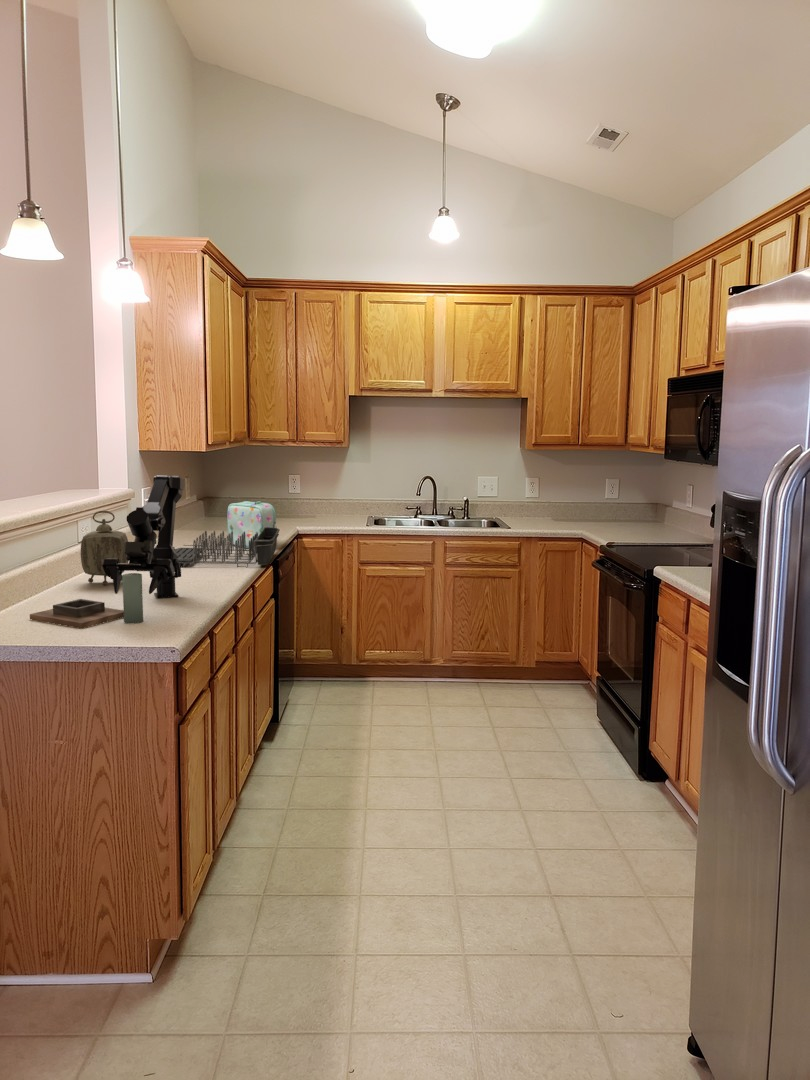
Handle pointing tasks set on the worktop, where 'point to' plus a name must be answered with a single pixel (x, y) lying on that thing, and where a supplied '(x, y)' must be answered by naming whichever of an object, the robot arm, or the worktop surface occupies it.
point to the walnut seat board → (78, 613)
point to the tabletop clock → (102, 548)
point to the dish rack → (261, 545)
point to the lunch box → (249, 519)
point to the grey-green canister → (132, 598)
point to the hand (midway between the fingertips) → (132, 593)
